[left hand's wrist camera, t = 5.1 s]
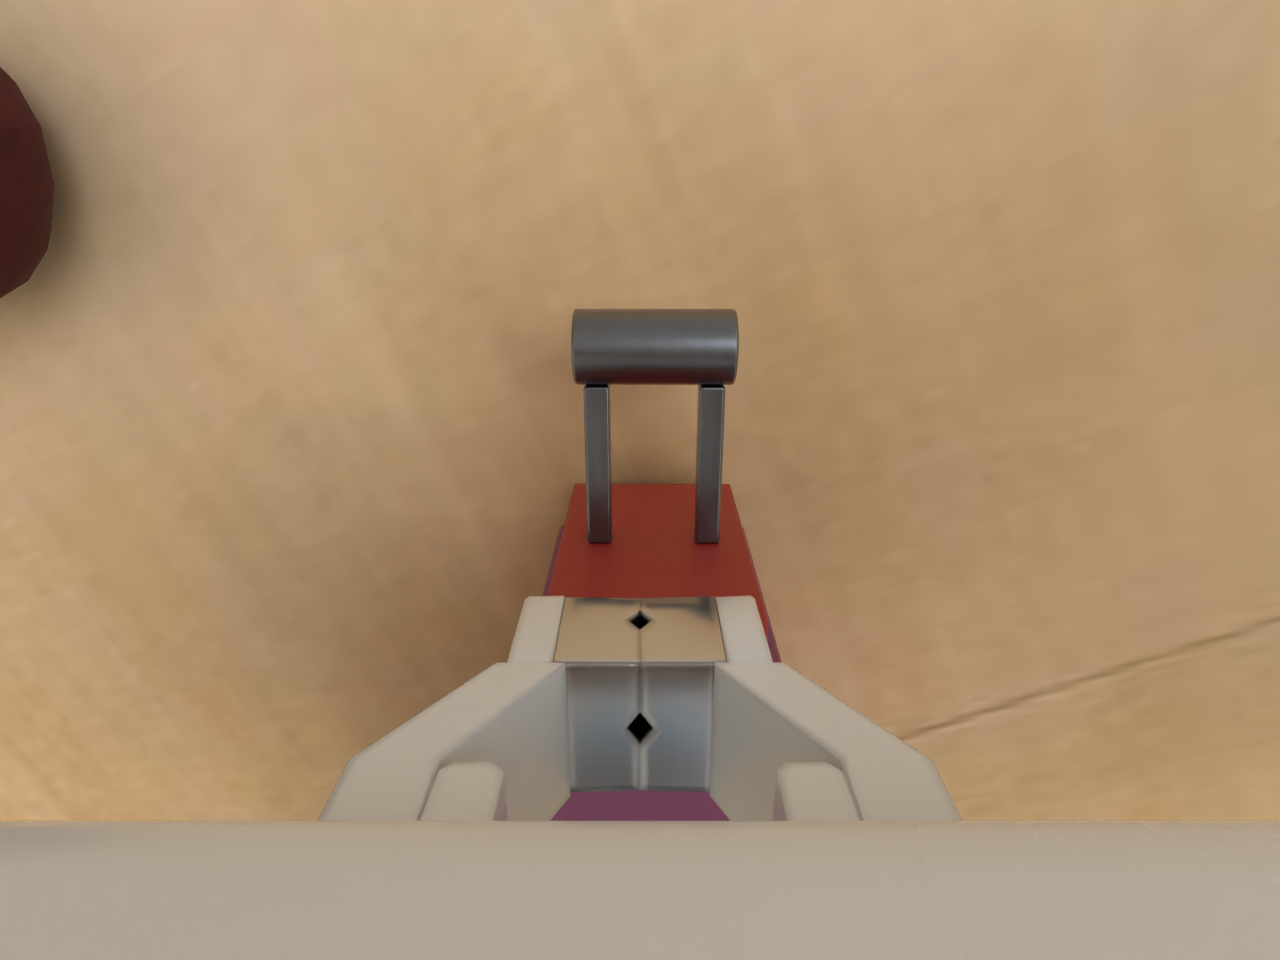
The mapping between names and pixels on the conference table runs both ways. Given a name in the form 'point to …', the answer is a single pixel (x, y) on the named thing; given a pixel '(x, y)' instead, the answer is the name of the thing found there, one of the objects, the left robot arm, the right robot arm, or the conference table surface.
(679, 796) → the cabinet
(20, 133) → the dark brown ball
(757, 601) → the drawer
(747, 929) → the left robot arm
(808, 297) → the conference table surface
